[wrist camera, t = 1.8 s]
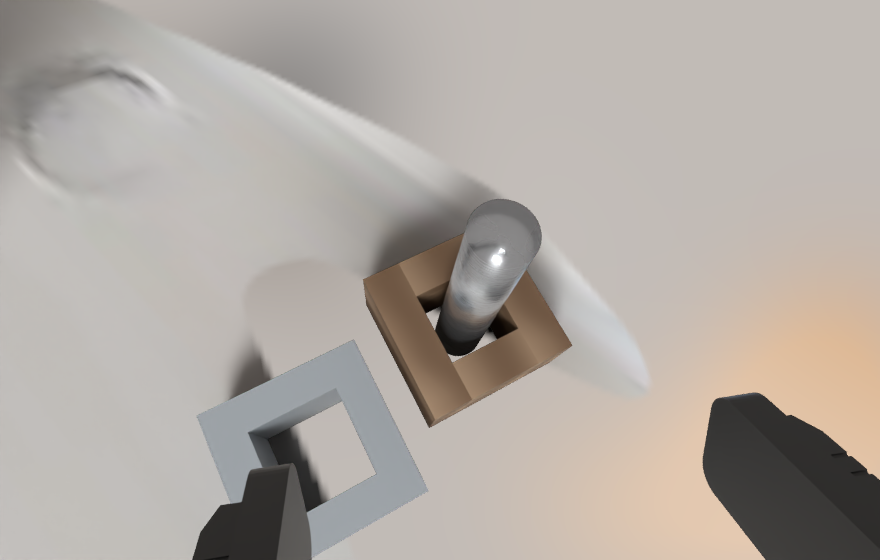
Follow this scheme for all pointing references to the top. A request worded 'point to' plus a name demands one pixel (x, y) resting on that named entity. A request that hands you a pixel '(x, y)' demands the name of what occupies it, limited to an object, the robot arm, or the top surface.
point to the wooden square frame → (420, 350)
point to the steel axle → (486, 271)
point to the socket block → (298, 398)
